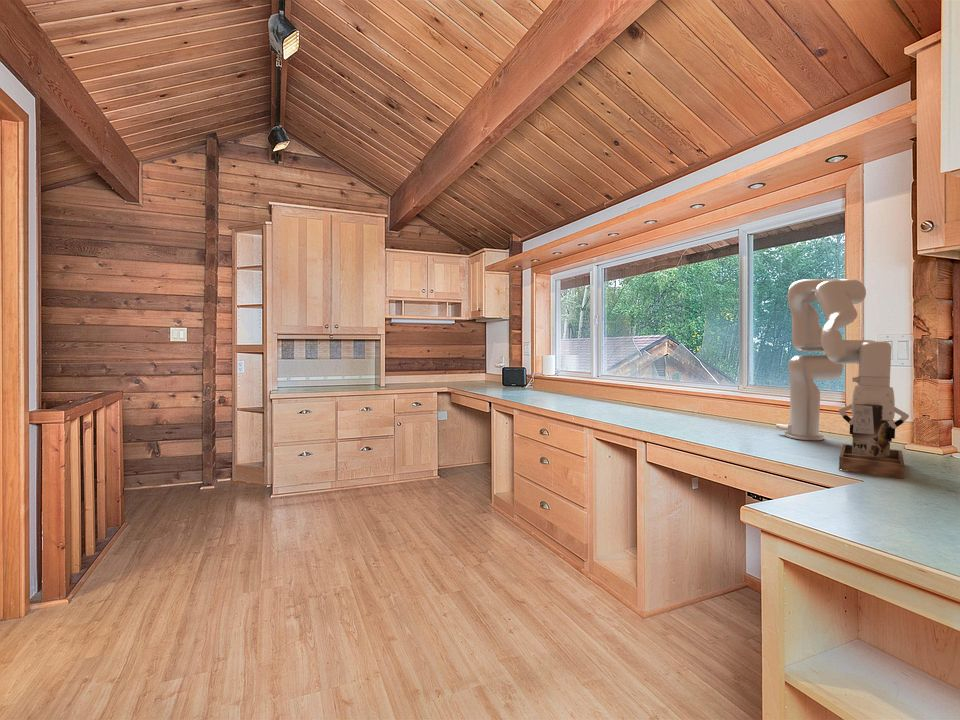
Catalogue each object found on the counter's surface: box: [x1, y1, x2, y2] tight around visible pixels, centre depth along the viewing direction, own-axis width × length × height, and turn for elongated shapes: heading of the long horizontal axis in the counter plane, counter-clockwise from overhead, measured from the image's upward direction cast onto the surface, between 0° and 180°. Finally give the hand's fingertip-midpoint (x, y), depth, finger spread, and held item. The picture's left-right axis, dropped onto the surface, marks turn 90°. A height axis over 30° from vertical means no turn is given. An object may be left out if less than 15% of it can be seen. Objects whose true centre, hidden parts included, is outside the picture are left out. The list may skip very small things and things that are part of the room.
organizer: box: [838, 443, 905, 480], centre depth 149 cm, size 15×20×4 cm
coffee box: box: [851, 404, 891, 458], centre depth 151 cm, size 9×6×16 cm
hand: (871, 438), depth 151 cm, fingers closed on coffee box, 8 cm apart
